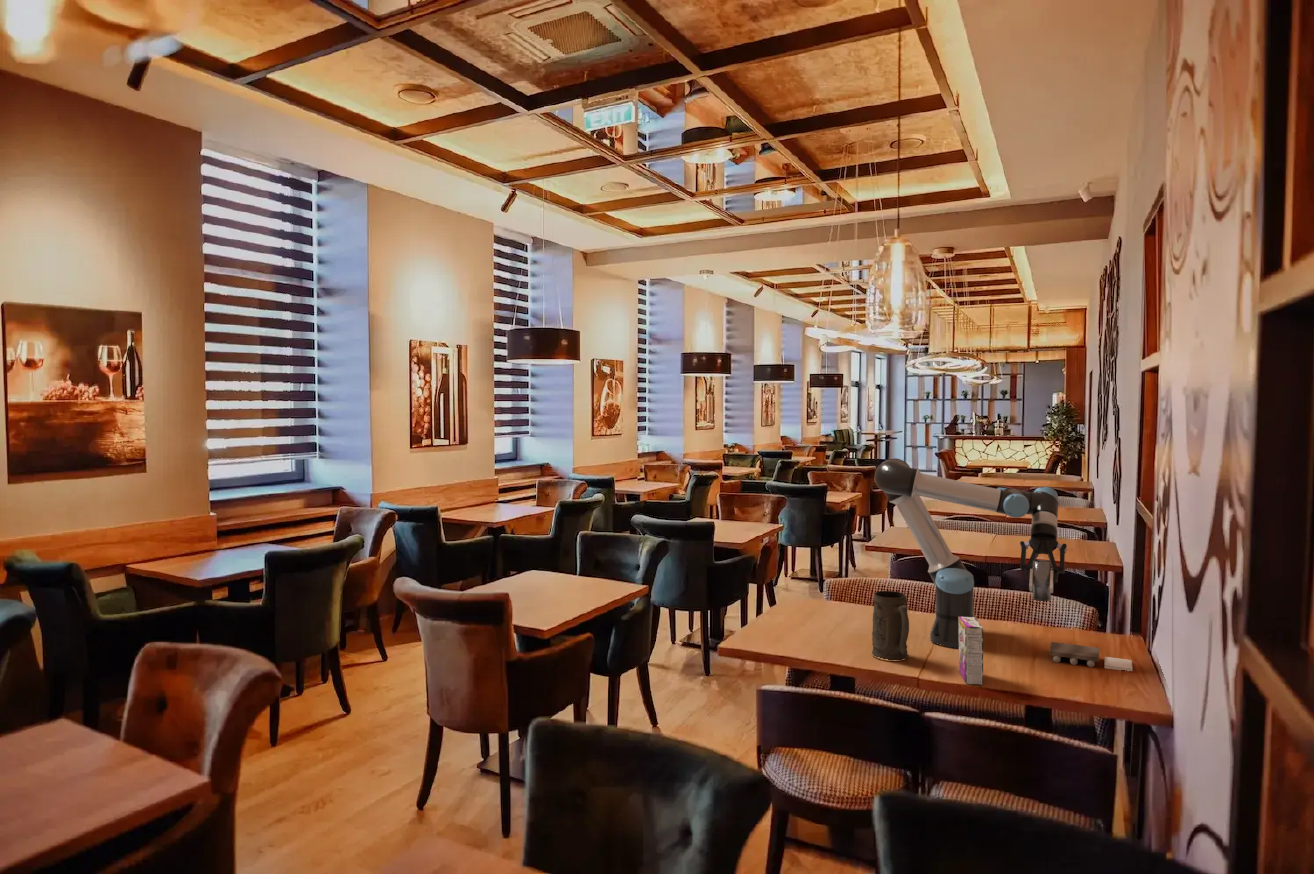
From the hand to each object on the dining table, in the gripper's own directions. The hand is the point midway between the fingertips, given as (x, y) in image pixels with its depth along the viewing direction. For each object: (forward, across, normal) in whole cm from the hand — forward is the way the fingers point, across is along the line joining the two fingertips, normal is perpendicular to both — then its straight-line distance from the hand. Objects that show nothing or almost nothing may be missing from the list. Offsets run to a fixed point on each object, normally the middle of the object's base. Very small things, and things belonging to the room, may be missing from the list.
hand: (1040, 589), depth 237 cm
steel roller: (0, 0, -5) cm, 5 cm away
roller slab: (+13, -9, -18) cm, 23 cm away
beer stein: (+30, +39, 0) cm, 49 cm away
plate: (+13, -20, -18) cm, 30 cm away
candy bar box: (+36, +16, +6) cm, 40 cm away
